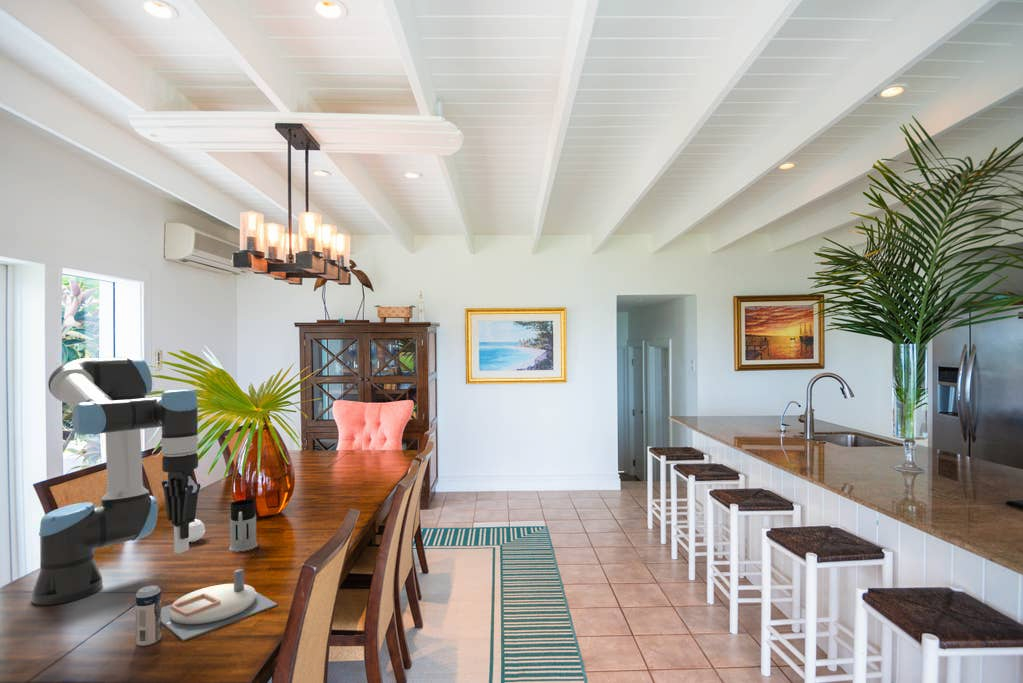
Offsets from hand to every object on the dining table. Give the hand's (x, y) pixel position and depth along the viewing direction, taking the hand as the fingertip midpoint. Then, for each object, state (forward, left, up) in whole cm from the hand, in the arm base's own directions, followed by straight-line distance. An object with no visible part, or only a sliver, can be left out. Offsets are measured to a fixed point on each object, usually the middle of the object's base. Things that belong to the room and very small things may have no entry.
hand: (181, 551), depth 134 cm
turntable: (+8, +2, -17) cm, 19 cm away
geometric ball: (+25, +63, -18) cm, 70 cm away
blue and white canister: (-8, -3, -18) cm, 20 cm away
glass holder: (+32, +40, -18) cm, 54 cm away
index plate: (+8, +2, -17) cm, 19 cm away
